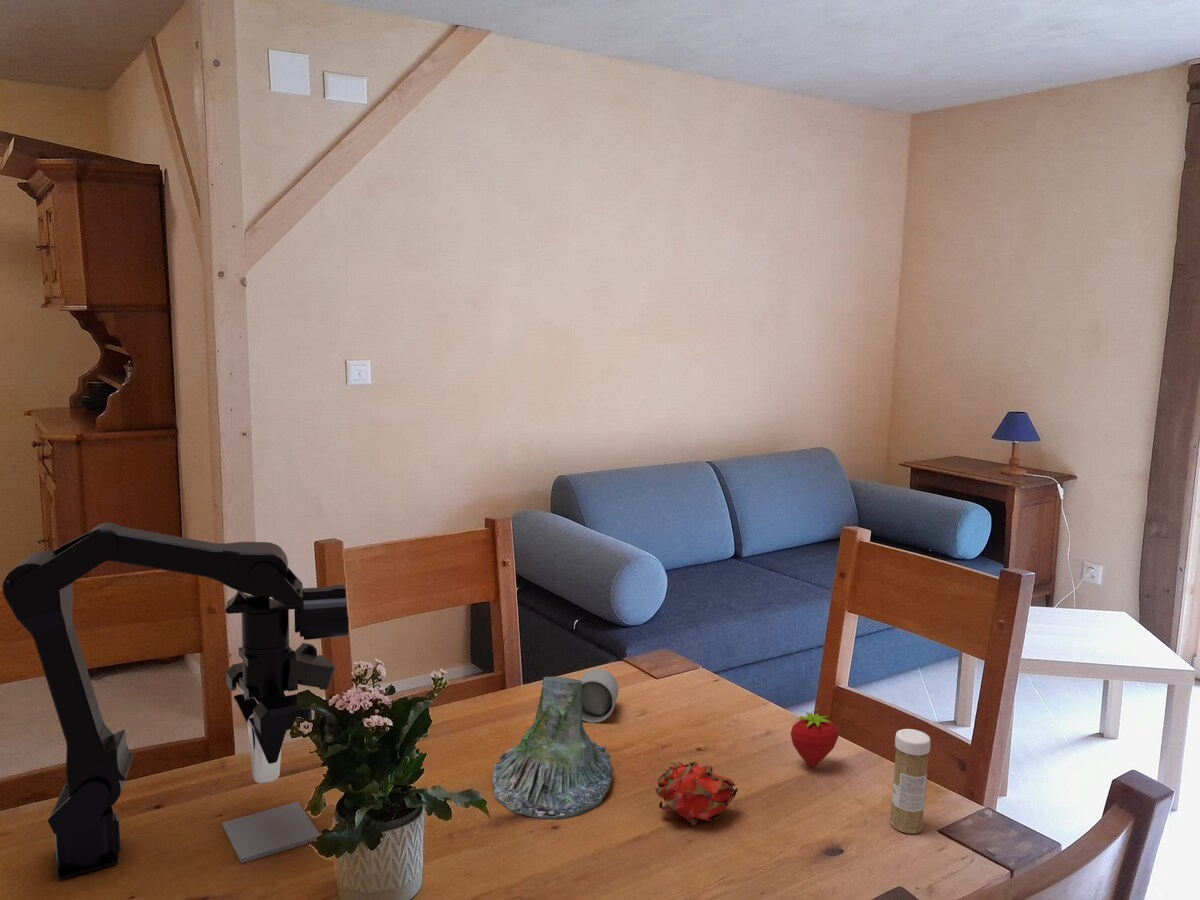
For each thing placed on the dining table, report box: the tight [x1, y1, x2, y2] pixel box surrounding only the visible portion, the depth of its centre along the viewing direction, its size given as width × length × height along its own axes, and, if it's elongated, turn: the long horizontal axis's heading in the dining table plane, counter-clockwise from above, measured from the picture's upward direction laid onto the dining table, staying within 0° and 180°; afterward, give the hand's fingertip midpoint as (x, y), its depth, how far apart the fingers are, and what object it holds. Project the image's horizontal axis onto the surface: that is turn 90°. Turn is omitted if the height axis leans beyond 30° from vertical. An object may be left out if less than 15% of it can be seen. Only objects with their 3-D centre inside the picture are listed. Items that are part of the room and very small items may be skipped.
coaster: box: [222, 801, 320, 864], centre depth 121 cm, size 10×10×1 cm
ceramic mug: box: [579, 668, 619, 724], centre depth 160 cm, size 11×8×8 cm
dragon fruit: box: [654, 761, 739, 826], centre depth 127 cm, size 8×8×12 cm
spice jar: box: [889, 728, 931, 834], centre depth 125 cm, size 5×5×14 cm
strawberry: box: [790, 708, 839, 768], centre depth 142 cm, size 6×8×10 cm
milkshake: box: [246, 714, 282, 784], centre depth 119 cm, size 4×5×10 cm
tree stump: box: [492, 676, 613, 820], centre depth 137 cm, size 18×20×18 cm
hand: (268, 756), depth 119 cm, fingers closed on milkshake, 4 cm apart
